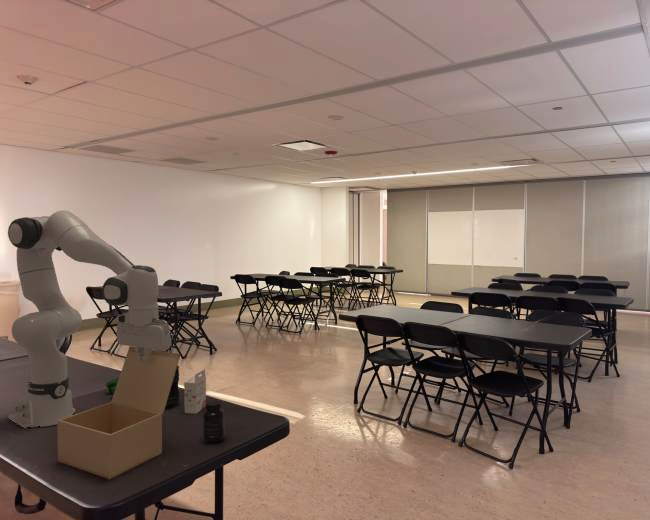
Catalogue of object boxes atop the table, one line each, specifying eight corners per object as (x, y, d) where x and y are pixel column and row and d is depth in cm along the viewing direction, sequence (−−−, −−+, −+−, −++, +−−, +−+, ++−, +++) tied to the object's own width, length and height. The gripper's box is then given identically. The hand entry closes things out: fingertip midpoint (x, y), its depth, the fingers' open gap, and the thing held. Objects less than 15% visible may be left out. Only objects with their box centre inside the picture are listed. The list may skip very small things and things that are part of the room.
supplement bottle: (204, 435, 154) (204, 399, 154) (225, 434, 155) (225, 398, 154) (200, 444, 147) (200, 406, 147) (222, 443, 148) (222, 406, 148)
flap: (129, 346, 156) (131, 346, 157) (111, 401, 150) (112, 401, 151) (179, 353, 146) (180, 354, 147) (161, 413, 141) (163, 413, 141)
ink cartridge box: (194, 405, 183) (194, 367, 182) (206, 406, 182) (206, 368, 181) (183, 413, 174) (183, 373, 174) (196, 414, 173) (196, 374, 173)
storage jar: (148, 410, 177) (148, 370, 177) (157, 401, 187) (157, 364, 187) (174, 410, 177) (174, 370, 177) (182, 401, 187) (182, 364, 187)
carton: (57, 461, 135) (57, 420, 134) (111, 438, 151) (111, 401, 150) (110, 479, 125) (110, 435, 124) (162, 453, 141) (161, 413, 141)
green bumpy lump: (112, 404, 196) (104, 384, 197) (126, 397, 200) (118, 377, 201) (118, 400, 187) (109, 379, 188) (133, 394, 191) (124, 373, 192)
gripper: (175, 318, 146) (175, 363, 146) (129, 313, 155) (129, 355, 155) (160, 321, 140) (160, 367, 140) (112, 316, 149) (113, 359, 150)
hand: (143, 361), depth 148 cm, fingers closed
